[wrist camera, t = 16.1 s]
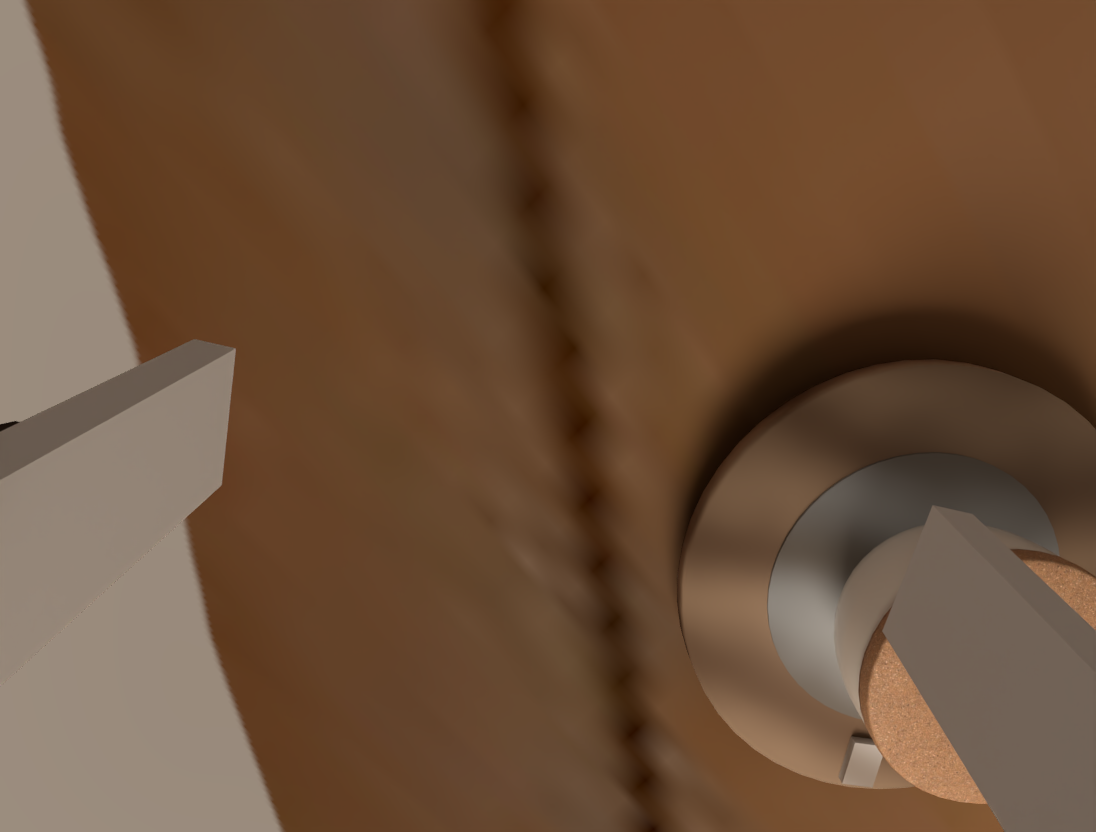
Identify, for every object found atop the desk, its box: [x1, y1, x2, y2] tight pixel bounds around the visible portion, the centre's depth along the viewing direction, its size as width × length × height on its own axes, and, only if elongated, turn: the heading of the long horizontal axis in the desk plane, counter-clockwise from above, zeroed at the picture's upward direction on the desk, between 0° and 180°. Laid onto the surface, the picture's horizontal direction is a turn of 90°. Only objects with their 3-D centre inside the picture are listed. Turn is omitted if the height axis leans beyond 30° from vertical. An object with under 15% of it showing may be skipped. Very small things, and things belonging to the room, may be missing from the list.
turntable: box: [677, 359, 1096, 789], centre depth 40 cm, size 22×22×2 cm
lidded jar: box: [834, 525, 1096, 804], centre depth 35 cm, size 11×11×9 cm
